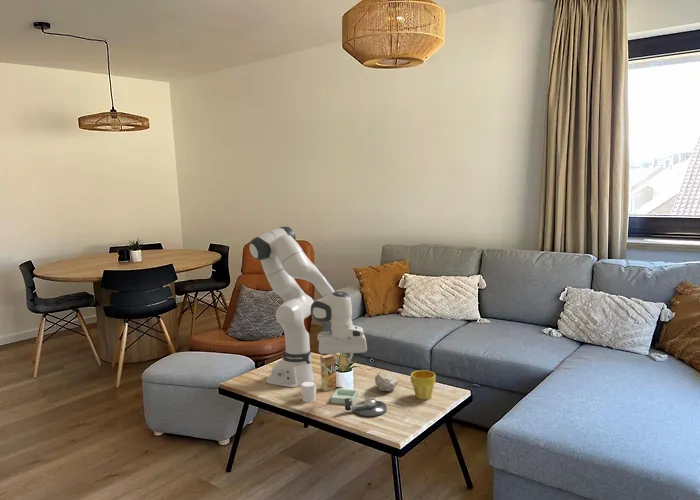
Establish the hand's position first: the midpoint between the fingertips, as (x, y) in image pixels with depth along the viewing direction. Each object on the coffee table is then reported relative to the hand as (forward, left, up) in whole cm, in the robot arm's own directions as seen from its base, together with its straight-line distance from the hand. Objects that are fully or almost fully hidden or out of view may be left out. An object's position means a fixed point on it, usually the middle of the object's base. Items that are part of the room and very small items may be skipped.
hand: (343, 362), depth 220 cm
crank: (+9, -10, -15) cm, 20 cm away
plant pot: (+32, +9, -16) cm, 37 cm away
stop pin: (0, 0, -3) cm, 3 cm away
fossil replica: (+15, +14, -16) cm, 26 cm away
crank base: (+13, -8, -16) cm, 22 cm away
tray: (0, 0, -16) cm, 16 cm away
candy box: (-9, +11, -16) cm, 22 cm away
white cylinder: (-15, -3, -16) cm, 22 cm away
